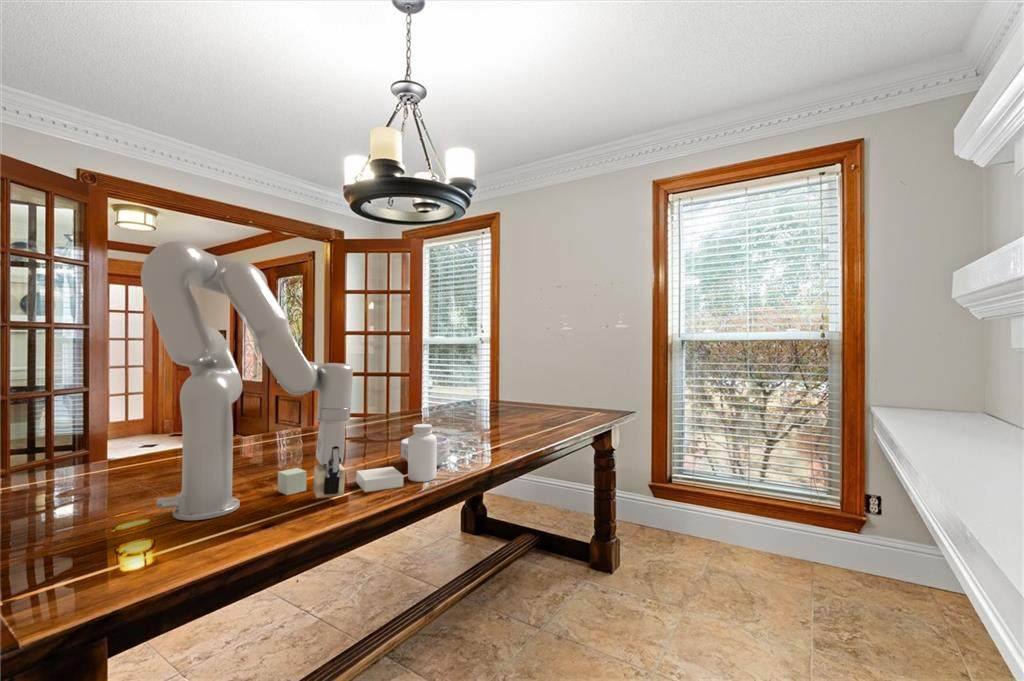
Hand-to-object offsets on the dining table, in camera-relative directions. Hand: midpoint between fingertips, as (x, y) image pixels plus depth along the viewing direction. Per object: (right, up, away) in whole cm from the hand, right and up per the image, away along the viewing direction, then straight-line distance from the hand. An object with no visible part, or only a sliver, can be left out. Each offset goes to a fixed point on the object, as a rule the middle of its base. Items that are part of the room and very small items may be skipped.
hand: (328, 488), depth 114 cm
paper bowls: (+17, -4, +35) cm, 39 cm away
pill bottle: (+19, -3, +20) cm, 28 cm away
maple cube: (0, -1, 0) cm, 1 cm away
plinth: (+8, -3, +14) cm, 16 cm away
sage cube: (-12, -3, +8) cm, 15 cm away
